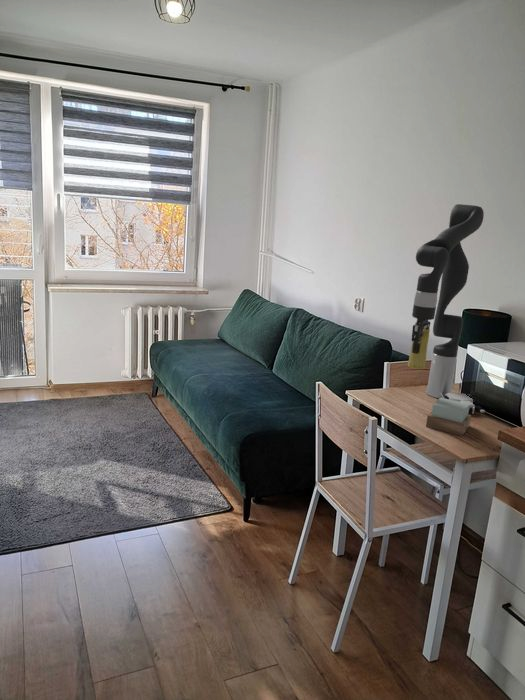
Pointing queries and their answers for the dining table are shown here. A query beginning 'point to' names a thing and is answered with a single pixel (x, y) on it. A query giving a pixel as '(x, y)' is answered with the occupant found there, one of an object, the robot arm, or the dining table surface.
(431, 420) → the bottom brick
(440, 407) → the top brick
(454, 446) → the dining table surface
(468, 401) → the robot toy
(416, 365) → the vase
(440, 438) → the dining table surface
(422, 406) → the dining table surface
